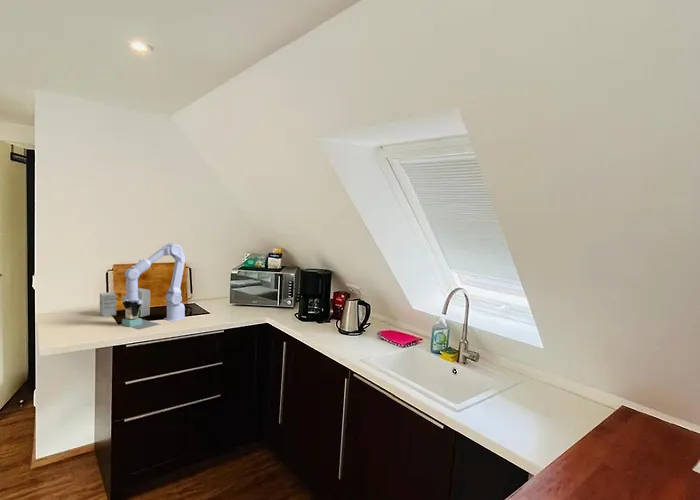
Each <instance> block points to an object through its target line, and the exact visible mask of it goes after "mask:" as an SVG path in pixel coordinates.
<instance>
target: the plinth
mask: <svg viewBox="0 0 700 500" xmlns="http://www.w3.org/2000/svg"><path fill="white" fill-rule="evenodd" d="M142 319H143V318H142V317H138V318H133V319H128V318H126V317H125V318H122V319H121V324H122V325H121V326H124V325H125V326H124V327H128V328H131V327H132V326H137V325H141V324H142Z"/></svg>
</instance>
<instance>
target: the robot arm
mask: <svg viewBox="0 0 700 500" xmlns="http://www.w3.org/2000/svg"><path fill="white" fill-rule="evenodd" d="M165 256H166V257H167V256H171V257H172V258H173V260H174V267H173V271H172V276H171V277H172V278H171V282H170V287H169V288H168V290H167V293H165V297H164V298H165V300H166V317H164V318H163V320H166V321H168V322H169V321H170V322H175V321H179V320H183V319H186V318H187V317H185V316H186V314H185V313H186V312H185V311H186V307H185V304H184V303H182V301H183V297H182V290H181V285H182V281H183V274H184V271H185V270H184V269H185V264H186V256H185V253H184V248H182V246H181V245H179V244H176V243H173V242H168V243H167V244H165V245H163V246H162V247H161V248H159V250H157V251H155V252H154V253H153V254H151V256H149V257H148V258H145V259H144V258H143V259H140V260H138V262H137V263H136V264H134V265H131V267H129V268H127V269H126V270H125V272H124V273H123V274H124V277H125V296H122V297H121V301H122V306H123V307H124V309H126V308H132V314H133V316H137V314H138V311H139V308H140V306H141V305H142V300H140V299H139V298H138V289H139V282H138V281H139V278H140V275H142V274H143V273H144V272H146V271H147V270H149V269H150V268H151V266H152V264H153V263H154V262H157V261H158V260H159V259H161V258H162V257H165Z"/></svg>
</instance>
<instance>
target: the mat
mask: <svg viewBox="0 0 700 500" xmlns="http://www.w3.org/2000/svg"><path fill="white" fill-rule="evenodd" d="M141 319H142V324H141V325H137V326H132V327H130V328H131V329H135V330H143V329H147V328H151V327H155V326H160V325H161V323H157V322H154V321H150V320H146V319H143V318H141ZM120 325H121V326H123V327H126V326H125V325H122V323H120Z"/></svg>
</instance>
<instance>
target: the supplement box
mask: <svg viewBox="0 0 700 500" xmlns="http://www.w3.org/2000/svg"><path fill="white" fill-rule="evenodd" d="M99 314H100V315H101V316H102V317H111V316H117V294H116V293H115V292H113V291H110V292H108V291H107V292H100V293H99Z"/></svg>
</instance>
